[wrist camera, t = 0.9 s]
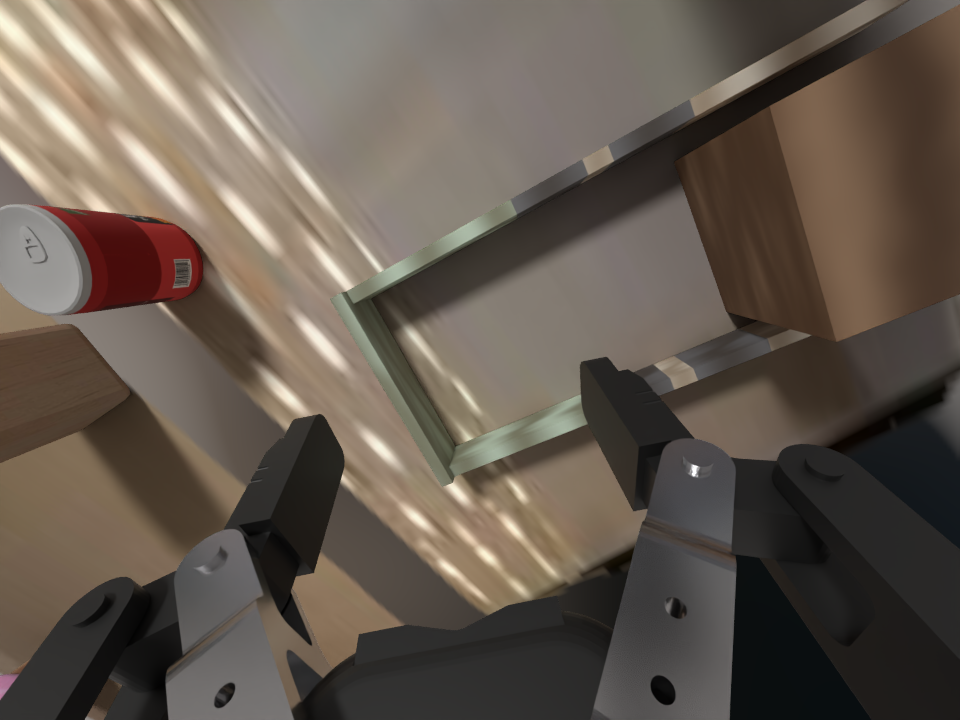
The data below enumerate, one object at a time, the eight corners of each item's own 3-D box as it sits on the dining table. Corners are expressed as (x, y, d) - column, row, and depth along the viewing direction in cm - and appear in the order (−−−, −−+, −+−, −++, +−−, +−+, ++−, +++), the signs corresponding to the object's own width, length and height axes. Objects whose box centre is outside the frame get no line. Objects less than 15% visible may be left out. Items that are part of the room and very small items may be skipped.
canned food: (175, 204, 35) (31, 183, 25) (221, 281, 37) (103, 293, 26) (119, 237, 37) (-40, 231, 26) (165, 310, 38) (33, 331, 28)
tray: (857, 13, 26) (933, -40, 22) (914, 270, 31) (987, 273, 26) (354, 293, 36) (329, 299, 31) (450, 459, 40) (442, 486, 35)
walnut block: (858, 63, 27) (1106, -74, 16) (897, 237, 30) (1131, 227, 19) (673, 162, 30) (769, 106, 19) (725, 311, 33) (836, 342, 22)
